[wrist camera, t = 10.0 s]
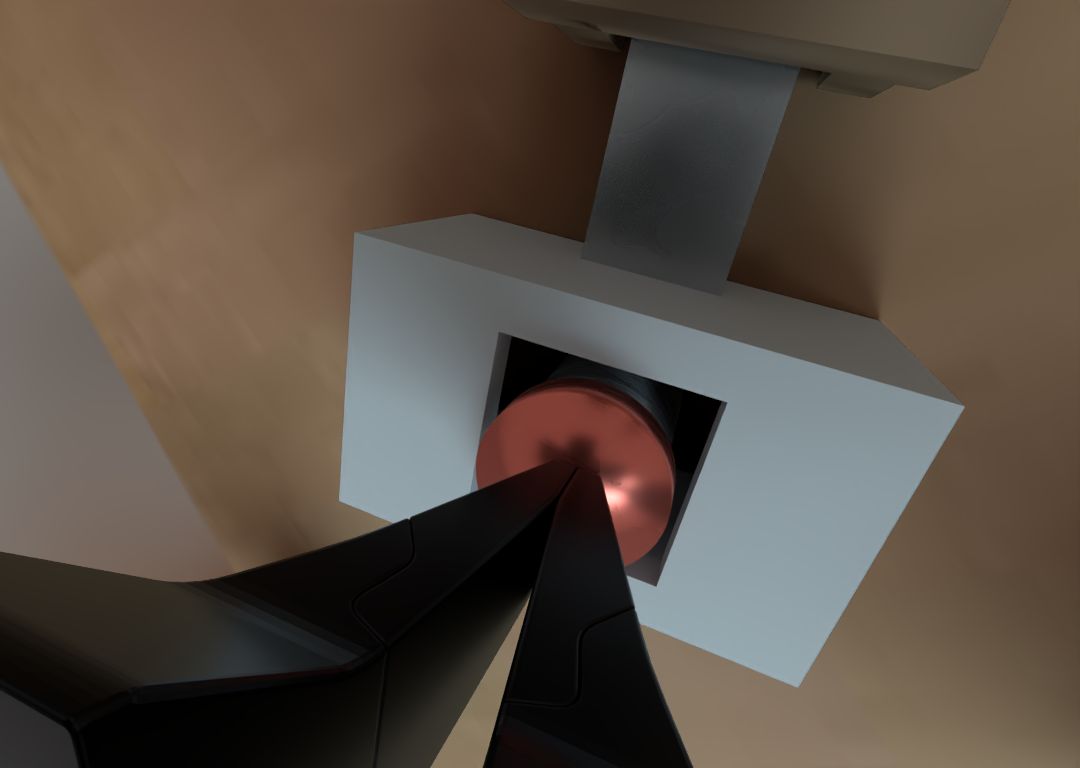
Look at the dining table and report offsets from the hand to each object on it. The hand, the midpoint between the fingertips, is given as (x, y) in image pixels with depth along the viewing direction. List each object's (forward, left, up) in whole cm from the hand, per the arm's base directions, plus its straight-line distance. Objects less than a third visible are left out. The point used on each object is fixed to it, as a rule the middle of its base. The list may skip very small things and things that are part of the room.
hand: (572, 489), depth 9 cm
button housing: (0, 0, -6) cm, 6 cm away
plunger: (0, 0, -5) cm, 5 cm away
